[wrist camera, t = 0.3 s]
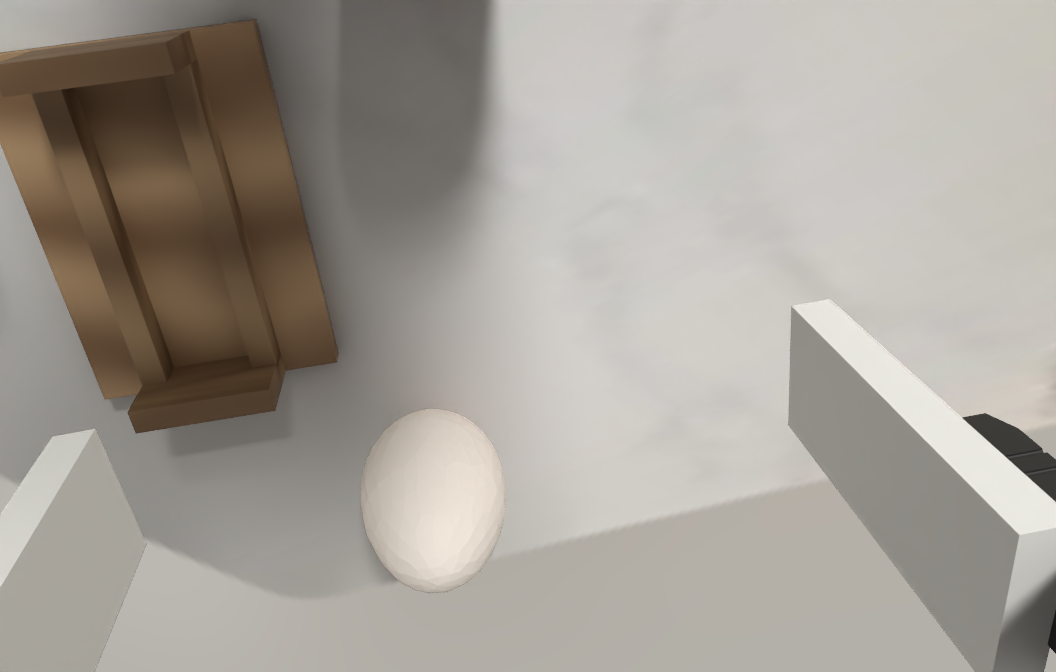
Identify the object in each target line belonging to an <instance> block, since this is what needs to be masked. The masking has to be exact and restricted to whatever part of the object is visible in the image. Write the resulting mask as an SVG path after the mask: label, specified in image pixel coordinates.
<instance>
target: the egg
mask: <svg viewBox="0 0 1056 672" xmlns="http://www.w3.org/2000/svg"><path fill="white" fill-rule="evenodd" d="M360 504H361V510H362V516H363V521H364V526H365V530H366V535H367V537H368V539H369V541H370V542H371V544H372V546H373V548H374V550H375V552H376V554H377V556H378V557H379V559H380V561H381V562H382V564H383V565H384V566H385V567H386V568H387V569H388V570H389V572H390V573H391V574H392V575H393V576H394V577H395V578H396V579H398V580H399V581H400V582H401V583H402V584H404V585H406V586H408V587H410V588H412V589H414V590H418V591H423V592H427V593H438V592H448V591H450V590H452V589H454V588H456V587H459V586H461V585H463V584H465V583H467V582H468V581H469V580H470V579H472V578H473V577H474V576H475V575H476V574H477V573H478V572H479V571H480V570H481V569H482V567H483V566H484V564H485V563H486V561H487V560H488V558H489V557H490V555H491V554H492V552H493V549H494V547H495V545H496V543H497V540H498V538H499V536H500V532H501V528H502V525H503V521H504V517H505V505H506V489H505V483H504V477H503V471H502V465H501V463H500V460H499V458H498V456H497V453H496V451H495V449H494V447H493V445H492V444H491V442H490V441H489V439H488V438H487V436H486V435H485V434H484V433H483V432H482V431H481V430H480V429H479V428H478V427H477V426H476V425H475V424H473V423H472V422H471V421H470V420H469V419H467V418H465V417H463V416H461V415H459V414H457V413H453V412H449V411H445V410H441V409H424V410H421V411H417V412H413V413H410V414H408V415H406V416H404V417H402V418H401V419H399V420H397V421H395V422H394V423H393V424H391V425H390V426H389V427H388V428H387V429H386V430H385V431H384V432H383V434H382V435H381V436H380V437H379V438H378V440H377V441H376V443H375V444H374V446H373V447H372V449H371V451H370V453H369V455H368V458H367V460H366V463H365V466H364V471H363V475H362V480H361V498H360Z"/></svg>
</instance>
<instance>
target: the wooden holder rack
mask: <svg viewBox="0 0 1056 672" xmlns="http://www.w3.org/2000/svg"><path fill="white" fill-rule="evenodd" d="M0 144H1V146H2V149H3V151H4V154H5V156H6V159H7V161H8V164H9V166H10V168H11V171H12V173H13V176H14V178H15V181H16V183H17V186H18V188H19V190H20V193H21V195H22V198H23V200H24V203H25V205H26V208H27V210H28V213H29V215H30V217H31V220H32V222H33V225H34V227H35V230H36V232H37V235H38V237H39V239H40V242H41V244H42V247H43V249H44V252H45V254H46V257H47V259H48V262H49V264H50V266H51V269H52V271H53V274H54V276H55V279H56V281H57V284H58V286H59V288H60V291H61V293H62V296H63V298H64V301H65V303H66V306H67V308H68V311H69V313H70V315H71V318H72V320H73V323H74V325H75V328H76V330H77V333H78V335H79V337H80V340H81V342H82V345H83V347H84V350H85V352H86V355H87V357H88V360H89V362H90V364H91V367H92V369H93V372H94V374H95V377H96V379H97V382H98V384H99V386H100V389H101V391H102V394H103V396H104V399H111V398H118V397H124V396H130V395H136V394H137V396H136V398H135V400H134V402H133V403H132V405H131V407H130V409H129V411H128V415H129V417H130V420H131V422H132V425H133V427H134V430H135V432H136V433H141V432H147V431H154V430H160V429H166V428H172V427H178V426H184V425H190V424H196V423H202V422H208V421H215V420H221V419H227V418H233V417H239V416H245V415H251V414H257V413H263V412H269V411H275V410H276V406H277V402H278V398H279V394H280V390H281V386H282V382H283V379H284V375H285V371H286V370H292V369H298V368H304V367H310V366H316V365H323V364H329V363H335V362H337V359H338V350H337V346H336V342H335V338H334V334H333V329H332V325H331V321H330V317H329V313H328V309H327V305H326V301H325V297H324V293H323V289H322V285H321V281H320V277H319V273H318V269H317V265H316V261H315V257H314V253H313V249H312V244H311V240H310V236H309V232H308V228H307V224H306V220H305V216H304V212H303V208H302V204H301V200H300V196H299V192H298V188H297V184H296V180H295V176H294V172H293V168H292V163H291V159H290V155H289V151H288V147H287V143H286V139H285V135H284V131H283V127H282V123H281V119H280V115H279V111H278V107H277V103H276V99H275V95H274V91H273V87H272V83H271V78H270V74H269V70H268V66H267V62H266V58H265V54H264V50H263V46H262V42H261V38H260V34H259V30H258V26H257V22H256V19H254V20H246V21H238V22H231V23H223V24H216V25H208V26H200V27H193V28H185V29H178V30H170V31H162V32H155V33H147V34H140V35H132V36H124V37H117V38H109V39H102V40H94V41H86V42H79V43H71V44H64V45H56V46H48V47H41V48H33V49H26V50H18V51H10V52H3V53H0Z"/></svg>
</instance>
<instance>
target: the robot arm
mask: <svg viewBox="0 0 1056 672" xmlns="http://www.w3.org/2000/svg"><path fill="white" fill-rule="evenodd" d="M788 425H789V427H790V428H791V429H792V431H793V432H794V433H795V435H796V436H797V437H798V438H799V440H800V441H801V442H802V444H803V445H804V446H805V448H806V449H807V450H808V452H809V453H810V454H811V456H812V457H813V458H814V460H815V461H816V462H817V464H818V465H819V466H820V468H821V469H822V470H823V472H824V473H825V474H826V475H827V477H828V478H829V479H830V481H831V482H832V483H833V485H834V486H835V487H836V489H837V490H838V491H839V493H840V494H841V495H842V497H843V498H844V499H845V501H846V502H847V503H848V504H849V506H850V507H851V508H852V510H853V511H854V512H855V514H856V515H857V516H858V518H859V519H860V520H861V522H862V523H863V524H864V526H865V527H866V528H867V529H868V531H869V532H870V534H871V535H872V536H873V538H874V539H875V540H876V541H877V543H878V544H879V545H880V547H881V548H882V549H883V551H884V552H885V553H886V555H887V556H888V557H889V559H890V560H891V561H892V563H893V564H894V565H895V566H896V568H897V569H898V570H899V572H900V573H901V574H902V576H903V577H904V578H905V580H906V581H907V582H908V584H909V585H910V586H911V588H912V589H913V590H914V592H915V593H916V594H917V595H918V597H919V598H920V600H921V601H922V602H923V604H924V605H925V606H926V607H927V609H928V610H929V612H930V613H931V614H932V615H933V617H934V618H935V619H936V621H937V622H938V623H939V625H940V626H941V627H942V629H943V630H944V631H945V633H946V634H947V635H948V637H949V638H950V639H951V640H952V642H953V643H954V644H955V646H956V647H957V648H958V650H959V651H960V652H961V654H962V655H963V656H964V658H965V659H966V660H967V662H968V663H969V664H970V666H971V667H972V668H973V670H974V671H975V672H1044V669H1045V665H1046V661H1047V657H1048V653H1049V648H1051V649H1052V650H1053V651H1054V652H1055V653H1056V459H1054V458H1053V457H1052V456H1051V455H1050V454H1048V453H1043V450H1042V448H1041V447H1040V446H1039V445H1037V444H1036V443H1035V442H1034V441H1033V440H1032V439H1030V438H1029V437H1028V436H1027V435H1026V434H1024V433H1023V432H1022V431H1021V430H1020V429H1018V428H1016V427H1014V426H1012V425H1010V424H1007V423H1005V422H1003V421H1001V420H999V419H997V418H994V417H992V416H990V415H988V414H986V413H984V414H979V415H974V416H968V417H963V418H962V417H960V416H959V415H958V414H957V413H956V412H955V411H954V410H953V409H952V408H950V407H949V406H948V405H947V404H946V403H945V402H944V401H943V400H942V399H940V398H939V397H938V396H937V395H936V394H935V393H934V392H933V391H932V390H930V389H929V388H928V387H927V386H926V385H925V384H924V383H923V382H921V381H920V380H919V379H918V378H917V377H916V376H915V375H914V374H913V373H911V372H910V371H909V370H908V369H907V368H906V367H905V366H904V365H903V364H901V363H900V362H899V361H898V360H897V359H896V358H895V357H894V356H893V355H891V354H890V353H889V352H888V351H887V350H886V349H885V348H884V347H883V346H881V345H880V344H879V343H878V342H877V341H876V340H875V339H874V338H872V337H871V336H870V335H869V334H868V333H867V332H866V331H865V330H864V329H862V328H861V327H860V326H859V325H858V324H857V323H856V322H855V321H854V320H852V319H851V318H850V317H849V316H848V315H847V314H846V313H845V312H844V311H842V310H841V309H840V308H839V307H838V306H837V305H836V304H835V303H834V302H832V301H831V300H830V299H828V300H823V301H817V302H811V303H806V304H800V305H794V306H791V342H790V381H789V421H788ZM145 547H146V542H145V539H144V537H143V535H142V533H141V530H140V528H139V526H138V524H137V521H136V519H135V517H134V515H133V512H132V510H131V508H130V506H129V503H128V501H127V499H126V497H125V494H124V492H123V490H122V488H121V485H120V483H119V481H118V479H117V476H116V474H115V472H114V470H113V467H112V465H111V463H110V461H109V458H108V456H107V454H106V452H105V449H104V447H103V445H102V443H101V440H100V438H99V436H98V434H97V431H96V429H91V430H86V431H80V432H74V433H69V434H63V435H57V436H52V438H51V439H50V441H49V442H48V444H47V445H46V447H45V448H44V450H43V451H42V453H41V454H40V456H39V457H38V459H37V460H36V462H35V463H34V465H33V466H32V468H31V469H30V470H29V472H28V473H27V475H26V476H25V478H24V479H23V481H22V482H21V484H20V485H19V487H18V488H17V490H16V491H15V493H14V495H13V496H12V497H11V499H10V500H9V502H8V503H7V505H6V506H5V508H4V509H3V511H2V512H1V514H0V672H95V670H96V667H97V665H98V663H99V660H100V658H101V655H102V653H103V650H104V648H105V645H106V643H107V640H108V638H109V635H110V633H111V631H112V628H113V626H114V623H115V620H116V618H117V616H118V613H119V611H120V608H121V606H122V604H123V601H124V598H125V596H126V594H127V591H128V589H129V586H130V584H131V581H132V579H133V577H134V574H135V572H136V569H137V567H138V564H139V562H140V559H141V557H142V554H143V552H144V549H145Z"/></svg>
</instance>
